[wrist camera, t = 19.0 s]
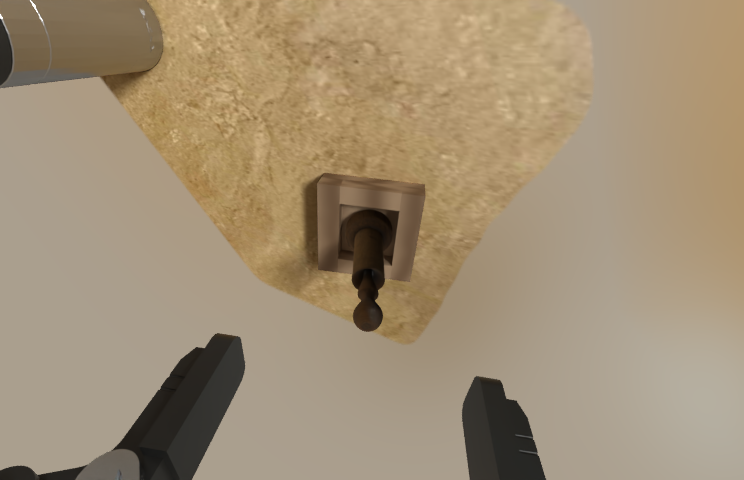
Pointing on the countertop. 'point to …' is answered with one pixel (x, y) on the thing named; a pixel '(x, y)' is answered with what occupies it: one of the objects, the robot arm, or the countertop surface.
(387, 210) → the brown flat square frame
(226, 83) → the countertop surface
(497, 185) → the countertop surface
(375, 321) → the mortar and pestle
